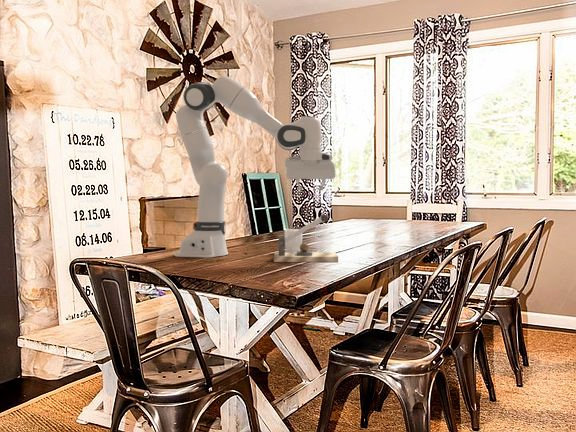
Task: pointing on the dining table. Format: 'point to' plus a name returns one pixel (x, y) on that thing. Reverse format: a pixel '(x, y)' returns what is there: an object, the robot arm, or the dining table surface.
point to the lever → (306, 227)
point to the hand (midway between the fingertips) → (310, 190)
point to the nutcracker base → (302, 254)
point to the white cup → (293, 241)
